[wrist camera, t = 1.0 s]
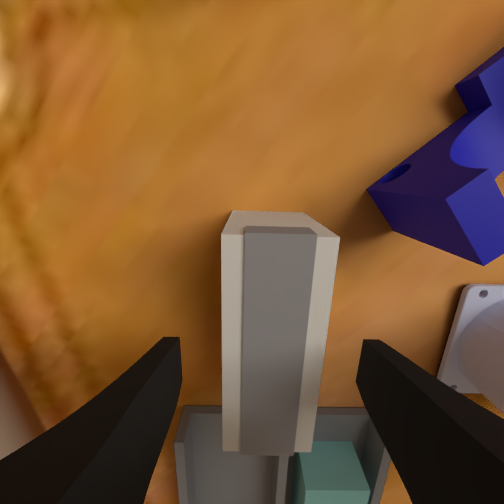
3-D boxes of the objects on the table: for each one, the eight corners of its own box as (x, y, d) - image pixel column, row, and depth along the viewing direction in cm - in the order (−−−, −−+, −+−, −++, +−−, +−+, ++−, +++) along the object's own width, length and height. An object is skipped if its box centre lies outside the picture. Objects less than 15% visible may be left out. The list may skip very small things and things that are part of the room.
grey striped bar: (303, 210, 14) (341, 235, 8) (290, 360, 17) (311, 456, 11) (232, 208, 14) (220, 231, 8) (231, 359, 17) (222, 455, 11)
